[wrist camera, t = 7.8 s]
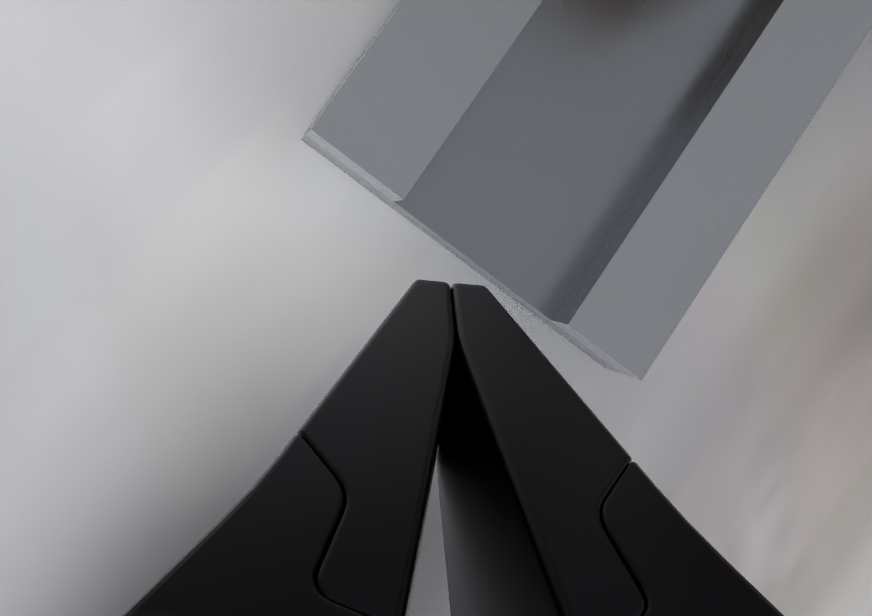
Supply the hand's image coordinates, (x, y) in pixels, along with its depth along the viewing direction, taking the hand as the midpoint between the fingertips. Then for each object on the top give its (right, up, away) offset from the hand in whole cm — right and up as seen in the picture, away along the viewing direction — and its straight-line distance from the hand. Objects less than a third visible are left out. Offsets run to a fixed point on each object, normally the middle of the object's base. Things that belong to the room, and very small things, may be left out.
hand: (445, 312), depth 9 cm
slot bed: (+6, +9, +15) cm, 18 cm away
